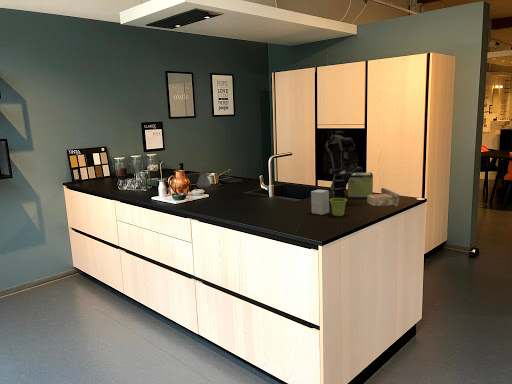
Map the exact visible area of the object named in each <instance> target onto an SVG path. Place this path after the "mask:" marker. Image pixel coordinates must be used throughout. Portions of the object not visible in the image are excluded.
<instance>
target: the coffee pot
mask: <svg viewBox="0 0 512 384" xmlns="http://www.w3.org/2000/svg"><path fill="white" fill-rule="evenodd" d="M213 172H215V171H214V170H211V171H210V172H208V173H207V171H199V172H198V173H199V177H198V180H197V182H196V187H197V188H198V189H199V190H200V189H201V190H202V189H203V190H204V189H205V190H206V189H209V187H211V186H212V185H211V184H212V183H211V181H210V179H209V177H208V176H209V175H210V174H213Z"/></svg>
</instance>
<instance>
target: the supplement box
mask: <svg viewBox="0 0 512 384" xmlns="http://www.w3.org/2000/svg"><path fill="white" fill-rule="evenodd" d="M329 193H330V191H329V190H326V189H316V190H311V191H310V203H311V214H313V215H314V214H315V215H320V216H321V215H325V214H328V213H330V195H329Z"/></svg>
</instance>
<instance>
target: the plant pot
mask: <svg viewBox="0 0 512 384" xmlns="http://www.w3.org/2000/svg"><path fill="white" fill-rule="evenodd" d="M347 201H348V198H333V197H332V198H329V204H330V205H331V206H330V207H331V212H332V216H334V217H343V216H344V215H345V209H346V204H347Z"/></svg>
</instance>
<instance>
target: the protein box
mask: <svg viewBox="0 0 512 384" xmlns="http://www.w3.org/2000/svg"><path fill="white" fill-rule="evenodd" d="M373 184H374V175H373V172H359V173H358V172H353V174H352V175H351V176H350V178H349V180H348V183H347V200H348V199H349V200H361V199H362V200H367V195H374V193H373V190H374V187H373V186H374V185H373Z"/></svg>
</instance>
